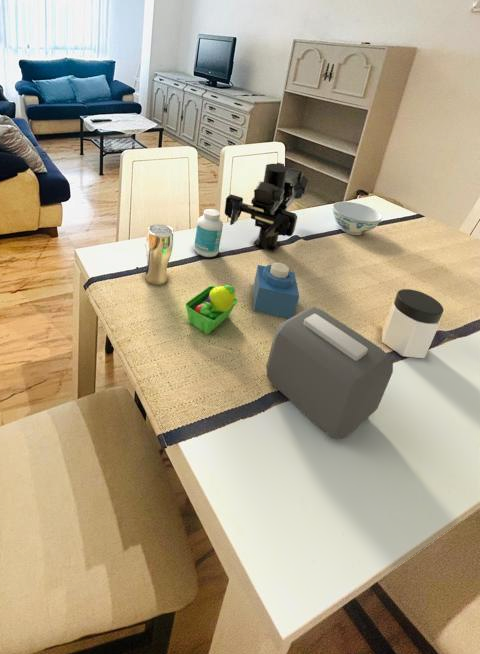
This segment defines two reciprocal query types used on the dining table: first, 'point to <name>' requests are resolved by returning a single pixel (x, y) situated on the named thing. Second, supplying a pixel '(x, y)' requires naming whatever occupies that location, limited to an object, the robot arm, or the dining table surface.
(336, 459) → the dining table surface
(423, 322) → the jar
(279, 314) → the soap bottle
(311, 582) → the dining table surface
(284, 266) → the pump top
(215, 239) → the pill bottle
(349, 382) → the alarm clock
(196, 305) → the fruit basket
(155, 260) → the beer glass
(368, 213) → the chinaware
